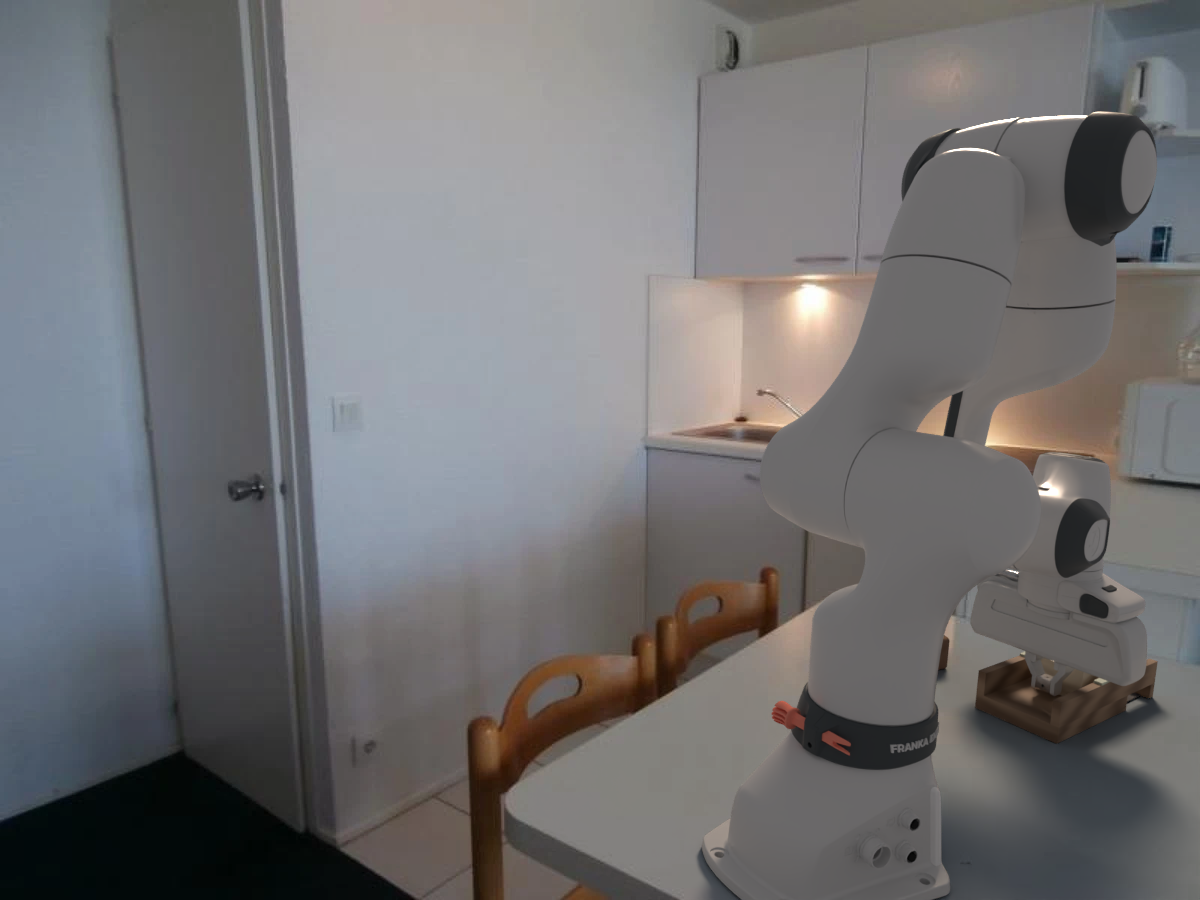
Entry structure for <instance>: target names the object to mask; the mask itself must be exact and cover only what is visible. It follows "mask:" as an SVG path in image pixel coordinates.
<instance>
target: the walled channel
mask: <svg viewBox="0 0 1200 900" xmlns="http://www.w3.org/2000/svg"><path fill="white" fill-rule="evenodd" d="M1158 662H1159V661H1157V660H1155V659H1152V658H1147V662H1146V670H1145V674H1144V676H1143V677H1142V678H1141V679H1140V680H1138V681H1136V682H1135V683H1132V684H1130V685H1127V686H1120V685H1118V684H1115V683H1112V682H1109V681H1107V680H1104V679H1101V678H1098V679H1096V680H1094V682H1093V683H1091V684H1089V685H1087V686H1084V687H1082V688H1080V689H1077V690H1075V691H1073V692H1070V693H1068V694H1066V695H1064V696H1061V695H1056V696H1053V695H1051V694H1048V693H1046V692H1043V691H1041V690H1038V689H1035V688H1033V687H1031V681H1032V674H1031V672H1030V670H1029V668H1028V665H1027V663H1026V661H1025V651H1022V652H1020V653H1019V655H1017V656H1015V657H1011V658H1008V659H1006V660H1003V661H1000V662H998V663H995V664H992V665H990V666H987V667H984V668H982V669H981V668H980V669H979V670H978V673H977V674H978V675H977V683H976V684H977V685H976V693H975V695H976V696H975V706H974V709H977V710H979V711H982V712H984V713H986V714H988V715H990V716H993V717H995V718H998V719H1000V720H1002V721H1004V722H1006V723H1007V724H1008V723H1009V724H1010V725H1013V726H1015V727H1018V728H1020V729H1023V730H1025V731H1027V732H1029V733H1031V734H1034V735H1036V736H1038V737H1040V738H1043V739H1045V740H1047V741H1049V742H1052V743H1054V744H1059V743H1062V742H1064V741H1065V740H1068V739H1070V738H1071V737H1074V736H1076V735H1078V734H1080V733H1082V732H1085V731H1086V730H1089V729H1090V728H1092V727H1095V726H1096V725H1099V724H1100V723H1104V722H1105V721H1107V720H1109V719H1112V718H1113V717H1115V716H1117V715H1120V714H1121V713H1124V712H1125V711H1127V705H1128V703H1130V702H1132V701H1134V700H1136V699H1138V698H1140V697H1142V696H1143V697H1142V698H1144V697H1146V698H1145V699H1147V698H1150V699H1152V698H1153V697H1154V690H1155V682H1156V677H1157V676H1156V675H1157V669H1158ZM1139 696H1140V697H1139ZM1137 697H1138V698H1137ZM1151 697H1152V698H1151ZM1135 698H1136V699H1135ZM1133 699H1134V700H1133ZM1131 700H1132V701H1131ZM1129 701H1130V702H1129Z"/></svg>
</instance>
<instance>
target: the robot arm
mask: <svg viewBox="0 0 1200 900" xmlns="http://www.w3.org/2000/svg"><path fill="white" fill-rule="evenodd" d="M1157 153H1158V152H1157V146H1156V140H1155V137H1154V135H1153V132H1152V131H1151V129H1150V128H1149V127H1148V126H1147V125H1146V124H1145V122H1144V121H1142V119H1141V118H1140V117H1139V116H1137V115H1134V114H1131V113H1126V112H1124V113H1123V112H1116V111H1115V112H1114V111H1095V112H1094V111H1093V112H1091V113H1090V114H1089V115H1057V116H1056V115H1055V116H1039V117H1031V118H1028V117H1024V116H1022V117H1016V118H1010V119H1003V120H1001V119H1000V120H996V121H992V122H987V123H982V124H979V125H975V126H970V127H967V128H964V129H963V128H962V127H961V128H960V127H955V128H951V129H947V130H944V131H941V132H939V133H936V134H934V135H931V136H929V137H928V138H926V139H924V140H923V141H922V142H921V143H920V144H919V145H918V146H917V148H916V149H915V150H914V151H913V153H912V154H911V156H910V157H909V159H908V161H907V163H906V165H905V168H904V171H903V173H902V178H901V179H902V180H901V186H900V187H901V194H900V195H901V201H902V202H901V205H900V207H899V208H898V211H897V213H896V216H895V219H894V221H893V224H892V226H891V229H890V232H889V234H888V237H887V240H886V244H885V246H884V247H885V248H884V250H883V253H882V257H881V260H880V263H879V267H878V271H877V274H876V278H875V282H874V285H873V289H872V291H871V295H870V299H869V301H868V306H867V308H866V312H865V314H864V318H863V321H862V324H861V327H860V330H859V333H858V337H857V339H856V342H855V344H854V346H853V349H852V350H851V352H850V355H849V356H848V358H847V360H846V362H845V364H844V365H843V367H842V369H841V370H840V372H839V374H838V375H837V376H836V378H835V379H834V380H833V381H832V383H831V384H830V386H829V387H828V389H827V390H826V391H825V392H824V394H823V395H822V396H821V397H820V398H819V399H818V400H817V402H815V403H814V405H813V406H812V407H810V409H809V410H807V411H806V412H805V413H803V414H802V415H801V416H800V417H798V418H797V419H795V420H793V421H791V422H790V423H788V424H786V425H784V426H783V427H781V428H780V429H779V430H778V431H777V432H776V433H775V434H774V435H773V436H772V438H771V439H770V441H769V442H768V444H767V445H766V448H765V449H764V452H763V454H762V457H761V462H760V466H759V485H760V489H761V490H760V491H761V494H762V495H763V498H764V501H765V502H766V504H767V505H768V507H769V508H770V509H771V510H773V512H775V514H776V513H777V514H778V515H780V516H782V517H783V518H785V519H786V520H787V521H789V522H791V523H792V524H793V525H796V526H797V527H800V528H801V529H803V530H805V531H807V532H808V533H811V534H815V535H817V536H821V537H825V538H828V539H831V540H835V541H838V542H840V543H845V544H847V545H850V546H855V547H858V548H861V549H863V550H864V555H865V556H864V557H865V560H864V566H863V571H862V575H861V577H860V580H859V582H858V583H855V584H851V585H848V586H845V587H843V588H840V589H837V590H836V591H834V592H832V593H830V594H829V595H828V596H827V597H825V598H824V600H822V602H820V604H819V605H818V606H817V607H816V609H815V611H814V614H813V617H812V620H811V633H810V636H811V637H810V649H809V665H808V678H807V680H808V681H807V682H806V683H805V684H804V687H803V689H802V691H801V694H800V696H799V699H798V701H797V705H796V707H793V706H792V705H791V704H790V703H789V702H786V701H785V700H779V701H777V702H776V703H775V704H774V707H772V710H771V711H772V712H771V719H772V720H773V721H774V722H775V723H777V724H780V725H783V726H784V727H785V728H786V729H787V730H789V732H788V733H787V735H786V736H785V737H784V738H783V739H782V740H780V742H779V743H778V744H777V745H776V746H775V748H773V750H771V752H770V753H769V754H768V755H767V756H766V757H765V759H764V760H763V761H762V762H761V763H760V764H759V765H758V766H757V767H756V768H755V769H754V770H753V771H752V772H751V774H749V776H748V777H747V778H746V779H745V780H744V781H743V782H742V783H741V784H740V786H739V787H738V788H737V790H736V792H735V795H734V798H733V802H732V807H731V812H730V818H728V819H727V820H725V821H723V822H722V823H720V824H719V825H718V826H716V827H715V828H713V829H712V830H710V831H708V832H707V833H706V834H705V835H704V836H703V837H702V843H701V851H702V855H703V857H704V860H705V861H706V863H707V865H708V867H709V869H710V870H712V872H713V873H714V874H715V877H716V878H718V879H719V881H721V883H722V884H723V885H724V886H726V887H727V888H728V889H729V890H730V891H731V892H732V893H733V894H734V895H736V897H738V898H739V899H740V900H935V899H938V898H941V897H945V896H947V895H949V893H950V892H951V878H950V875H949V873H948V871H947V870H946V868H945V866H944V864H943V862H942V796H941V791H940V786H939V785H938V781H937V777H936V773H935V768H934V764H933V758H932V755H933V753H934V752H935V750H936V748H937V741H938V735H939V731H940V721H939V706H938V705H937V702H936V701H935V700H936V699H935V698H936V690H937V681H938V673H939V670H938V667H939V660H940V654H941V648H942V643H943V637H944V635H945V633H946V630H947V626H948V625H949V622H950V620H951V618H952V615H953V614H954V613H955V610H956V608H957V607H958V606H959V604H960V603H961V601H962V600H963V599H964V598H965V597H966V596H967V594H968V593H970V591H971V590H972V589H974V588H975V587H977V588H976V589H977V591H976V595H975V596H974V597H975V598H974V601H973V605H972V609H971V614H970V615H971V616H970V621H969V623H970V625H971V628H972V630H973V632H974V633H976V634H977V635H979V636H984V637H986V638H988V639H991V640H994V641H997V642H999V643H1002V644H1005V645H1007V646H1011V647H1012V648H1013V647H1014V648H1017V649H1019V650H1021V651H1023V652H1025V661H1026V663H1027V665H1028V668H1029V670H1030V672H1031V674H1032V681H1031V687H1033V688H1035V689H1038V690H1041V691H1043V692H1046V693H1048V694H1051V695H1053V696H1056V695H1059V694H1060V693H1061V690H1062V683H1063V680H1065V679H1066V678H1067V677H1068V676H1069V675H1070V674H1071V673H1072V672H1073V671H1074V669H1076V670H1079V671H1082V672H1085V673H1087V674H1090V675H1093V676H1096V677H1098V678H1101V679H1104V680H1107V681H1109V682H1112V683H1115V684H1118V685H1120V686H1127V685H1130V684H1132V683H1135V682H1136V681H1138V680H1140V679H1141V678H1142V677H1143V676H1144V674H1145V670H1146V662H1147V659H1148V633H1147V628H1146V626H1145V624H1144V622H1143V621H1142V620H1141V619H1140V618H1139V617H1138V616H1140V615H1142V614H1143V613H1145V609H1146V600H1145V598H1144V597H1143V596H1141V595H1140V594H1138V593H1136V592H1135V591H1133V590H1131V589H1129V588H1128V587H1126V586H1124V585H1122V584H1121V583H1119V582H1118V581H1116V580H1115V579H1113V578H1111V577H1109V575H1107V574H1105V573H1104V564H1105V561H1104V556H1105V555H1106V551H1107V546H1108V541H1109V534H1110V526H1111V518H1110V517H1111V516H1110V515H1111V505H1112V504H1111V503H1112V502H1111V501H1112V500H1111V499H1112V497H1111V496H1112V494H1111V493H1112V489H1111V483H1112V482H1111V481H1112V480H1111V472H1110V471H1111V470H1110V465H1109V464H1108V463H1107V462H1105V461H1104V460H1102V459H1100V458H1097V457H1093V456H1090V455H1089V456H1087V455H1086V456H1085V455H1081V454H1074V453H1069V452H1067V453H1065V452H1059V451H1058V452H1056V451H1050V452H1045V453H1041V454H1039V456H1038V458H1037V459H1036V463H1035V466H1034V469H1033V473H1032V472H1031V471H1030V469H1029V468H1028V466H1027V465H1026V464H1025V463H1024V462H1023V460H1022V461H1021V460H1020V459H1019V458H1016V457H1013V456H1011V455H1009V454H1006V453H1004V452H1001V451H999V450H996V449H994V448H991V447H990V446H989V447H988V446H986V443H987V438H988V435H989V431H990V430H989V429H990V426H991V421H992V417H993V415H994V411H995V410H996V408H997V407H998V406H999V404H1000V403H1002V402H1003V401H1006V400H1008V399H1011V398H1014V397H1018V396H1020V395H1025V394H1028V393H1029V394H1030V393H1033V392H1036V391H1040V390H1043V389H1048V388H1051V387H1054V386H1058V385H1059V384H1062V383H1065V382H1067V381H1070V380H1072V379H1074V378H1076V377H1078V376H1080V375H1081V374H1083V373H1085V372H1087V371H1088V370H1089V369H1091V368H1092V367H1093V366H1094V365H1096V363H1097V362H1098V361H1099V360H1100V359H1101V357H1102V356H1103V355H1104V354H1105V352H1106V351H1107V350H1108V347H1109V344H1110V340H1111V336H1112V332H1113V328H1114V327H1113V326H1114V321H1115V314H1116V303H1117V302H1116V298H1117V279H1118V278H1117V268H1118V267H1117V266H1118V264H1117V249H1116V238H1115V237H1116V236H1117V234H1120V233H1122V232H1124V231H1126V230H1127V229H1128V228H1129V227H1131V225H1132V224H1133V223H1134V222H1135V221H1137V220H1138V218H1139V217H1140V216H1141V215H1142V214H1143V212H1144V211H1145V210H1146V209H1147V206H1148V204H1149V202H1150V199H1151V197H1152V194H1153V190H1154V188H1155V187H1154V186H1155V182H1156V178H1157V171H1158V159H1157V157H1158V156H1157ZM949 397H950V402H949V406H948V411H947V415H946V420H945V426H944V431H943V435H942V434H940V435H939V434H935V433H934V434H933V433H927V432H922V431H921V432H919V431H918V429H919V427H920V426H921V424H922V422H923V420H924V419H925V418H926V417H927V415H928V414H929V413H930V412H931V411H932V410H933V409H934V408H935V407H936V406H937V405H939V403H942V401H944V400H945V399H948V398H949ZM1044 658H1046V659H1049V660H1052V661H1054V669H1055V670H1057V671H1058V670H1059V671H1058V672H1057V673H1056V675H1055V676H1054V677H1053V676H1050V675H1048V674H1046V673H1045V671H1044V668H1043V665H1042V662H1041V659H1044Z"/></svg>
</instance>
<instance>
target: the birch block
mask: <svg viewBox="0 0 1200 900" xmlns="http://www.w3.org/2000/svg"><path fill="white" fill-rule="evenodd" d="M1041 662H1042V665H1043V668H1044V671H1045V673H1046V674H1048V675H1050V676H1053V677H1054V676H1055V675H1056V673H1057V672H1058V671H1059V670H1058V671H1057V670H1055V669H1054V661H1052V660H1049V659H1046V658H1044V659H1041ZM1096 679H1098V677H1096V676H1093V675H1090V674H1087V673H1085V672H1082V671H1079V670H1076V669H1074V671H1073V672H1072V673H1071V674H1070V675H1069V676H1068V677H1067V678H1066V679H1065V680H1063V683H1062V690H1061V693H1060V694H1059V695H1061V696H1064V695H1066V694H1068V693H1070V692H1073V691H1075V690H1077V689H1080V688H1082V687H1084V686H1087V685H1089V684H1091V683H1093V682H1094V680H1096Z"/></svg>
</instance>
